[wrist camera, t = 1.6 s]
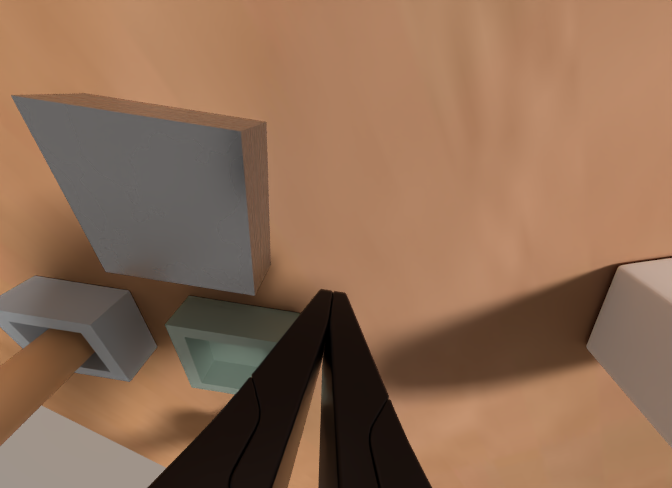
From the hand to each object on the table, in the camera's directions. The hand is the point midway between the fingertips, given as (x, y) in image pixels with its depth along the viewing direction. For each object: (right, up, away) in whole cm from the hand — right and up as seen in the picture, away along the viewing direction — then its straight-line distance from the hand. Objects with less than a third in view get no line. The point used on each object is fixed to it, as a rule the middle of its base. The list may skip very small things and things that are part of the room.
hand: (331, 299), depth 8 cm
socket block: (-19, -4, +11) cm, 22 cm away
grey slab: (-7, +5, +5) cm, 10 cm away
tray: (-7, -6, +11) cm, 14 cm away
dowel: (-19, -4, +11) cm, 22 cm away
